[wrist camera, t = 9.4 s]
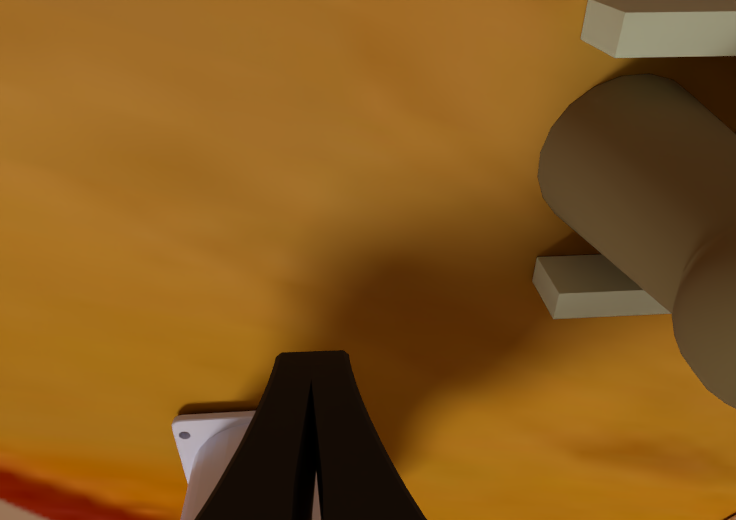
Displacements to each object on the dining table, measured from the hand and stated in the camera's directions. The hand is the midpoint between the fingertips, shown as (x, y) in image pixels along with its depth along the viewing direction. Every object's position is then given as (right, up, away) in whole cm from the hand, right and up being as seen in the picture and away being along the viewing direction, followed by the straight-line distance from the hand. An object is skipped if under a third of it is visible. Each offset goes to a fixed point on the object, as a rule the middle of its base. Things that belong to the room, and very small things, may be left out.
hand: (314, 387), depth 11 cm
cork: (+10, +6, +9) cm, 15 cm away
